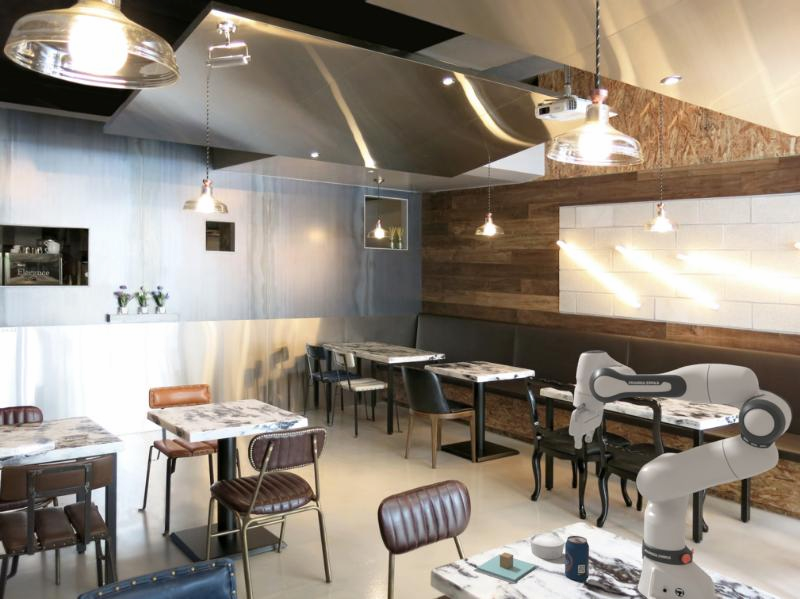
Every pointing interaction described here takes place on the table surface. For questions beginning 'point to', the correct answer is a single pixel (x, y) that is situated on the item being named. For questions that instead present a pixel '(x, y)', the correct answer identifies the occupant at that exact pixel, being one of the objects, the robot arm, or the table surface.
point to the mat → (504, 578)
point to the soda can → (577, 558)
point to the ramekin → (547, 546)
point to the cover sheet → (506, 572)
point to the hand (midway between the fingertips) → (583, 445)
